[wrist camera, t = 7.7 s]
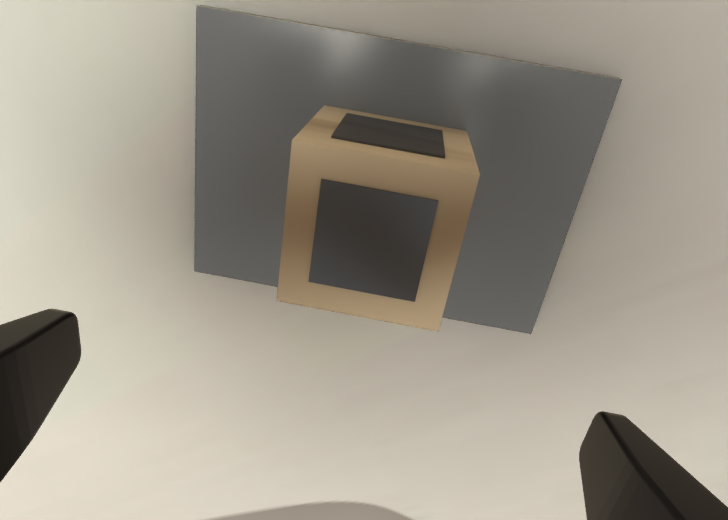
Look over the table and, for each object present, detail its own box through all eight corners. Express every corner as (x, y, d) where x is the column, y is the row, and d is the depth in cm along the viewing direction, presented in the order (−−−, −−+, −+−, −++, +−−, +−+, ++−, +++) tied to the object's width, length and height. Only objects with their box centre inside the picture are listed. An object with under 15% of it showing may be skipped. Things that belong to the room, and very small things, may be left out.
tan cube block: (435, 258, 21) (438, 332, 16) (308, 235, 21) (276, 301, 16) (467, 128, 18) (480, 173, 14) (324, 103, 18) (291, 138, 14)
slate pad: (618, 77, 18) (622, 79, 17) (529, 328, 22) (531, 333, 22) (201, 5, 18) (196, 5, 18) (198, 266, 22) (194, 271, 22)
